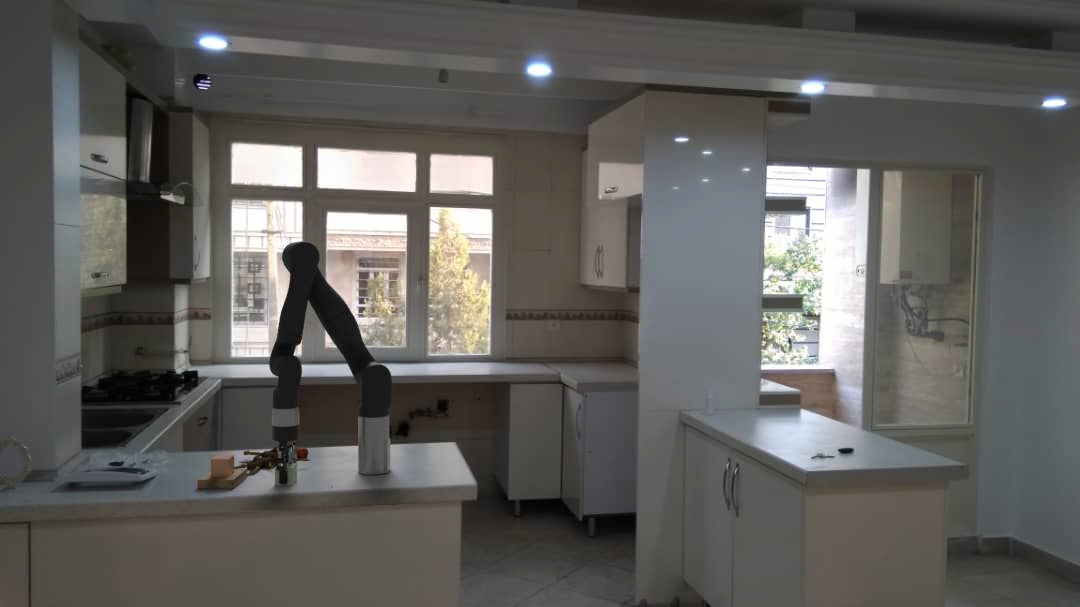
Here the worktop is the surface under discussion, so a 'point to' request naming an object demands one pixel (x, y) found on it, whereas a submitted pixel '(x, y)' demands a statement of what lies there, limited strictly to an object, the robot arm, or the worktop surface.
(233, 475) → the base board
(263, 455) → the toy
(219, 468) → the terracotta block
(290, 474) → the sage block
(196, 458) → the worktop surface
